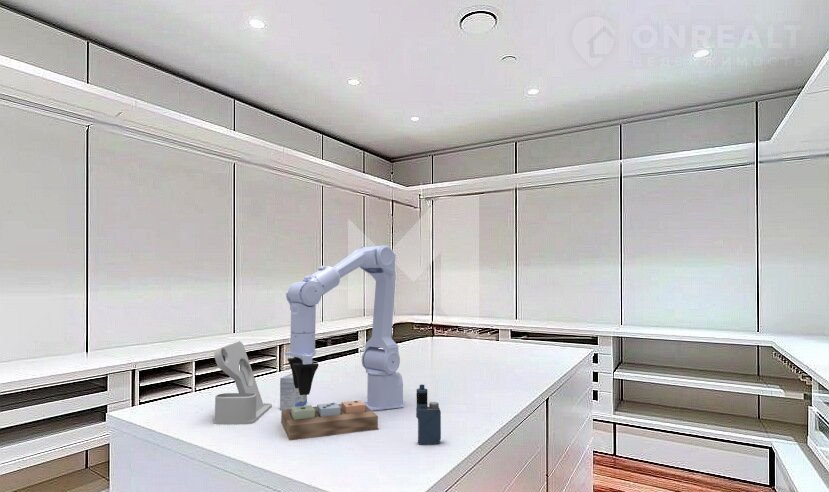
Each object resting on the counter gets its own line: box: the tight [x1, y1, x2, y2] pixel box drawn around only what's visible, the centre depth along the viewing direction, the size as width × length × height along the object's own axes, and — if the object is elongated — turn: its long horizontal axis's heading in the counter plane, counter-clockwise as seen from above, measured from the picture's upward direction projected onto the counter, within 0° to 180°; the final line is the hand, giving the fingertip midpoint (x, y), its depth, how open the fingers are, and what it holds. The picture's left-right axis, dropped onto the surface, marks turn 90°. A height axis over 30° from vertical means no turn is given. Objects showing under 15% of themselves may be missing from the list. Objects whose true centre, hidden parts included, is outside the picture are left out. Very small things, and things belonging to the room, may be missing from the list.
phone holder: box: [212, 341, 273, 425], centre depth 122 cm, size 17×10×18 cm, turn 1°
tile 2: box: [341, 400, 365, 414], centre depth 114 cm, size 5×5×2 cm
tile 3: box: [316, 402, 340, 417], centre depth 112 cm, size 5×5×2 cm
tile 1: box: [291, 404, 315, 420], centre depth 110 cm, size 5×5×2 cm
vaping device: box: [415, 384, 442, 446], centre depth 100 cm, size 3×5×12 cm, turn 95°
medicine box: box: [279, 373, 308, 410], centre depth 129 cm, size 8×4×9 cm, turn 168°
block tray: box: [280, 403, 379, 441], centre depth 112 cm, size 20×14×3 cm
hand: (301, 391), depth 110 cm, fingers open, 7 cm apart
